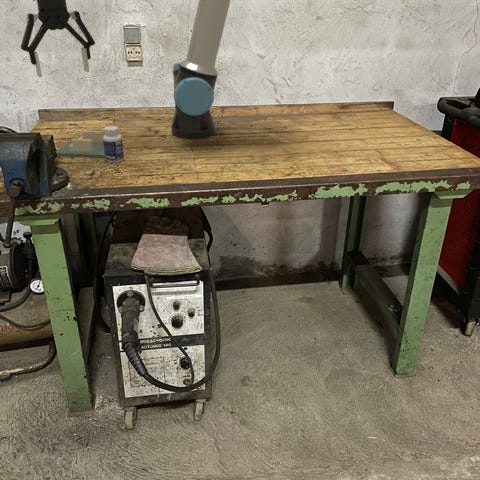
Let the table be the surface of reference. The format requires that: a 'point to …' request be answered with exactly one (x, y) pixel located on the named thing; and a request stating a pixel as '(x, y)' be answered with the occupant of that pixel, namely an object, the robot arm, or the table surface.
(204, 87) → the robot arm
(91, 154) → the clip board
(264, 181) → the table surface
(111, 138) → the pill bottle
